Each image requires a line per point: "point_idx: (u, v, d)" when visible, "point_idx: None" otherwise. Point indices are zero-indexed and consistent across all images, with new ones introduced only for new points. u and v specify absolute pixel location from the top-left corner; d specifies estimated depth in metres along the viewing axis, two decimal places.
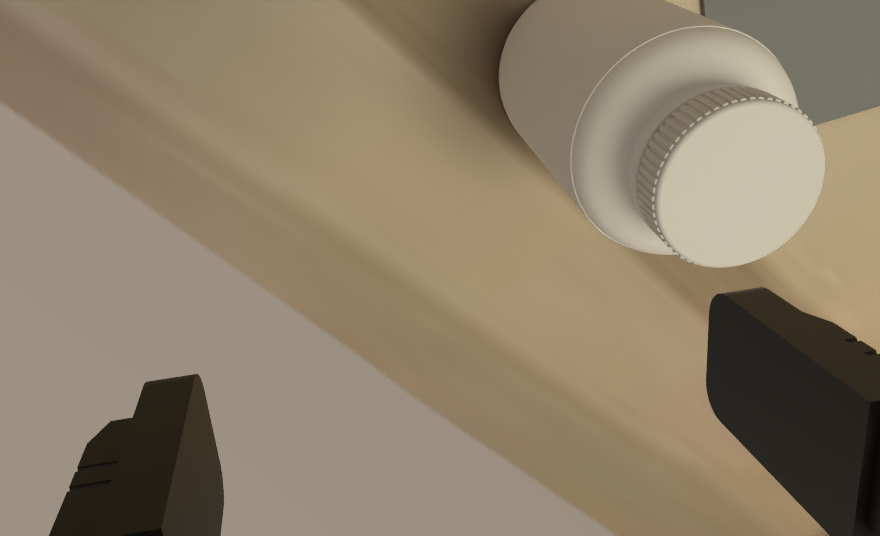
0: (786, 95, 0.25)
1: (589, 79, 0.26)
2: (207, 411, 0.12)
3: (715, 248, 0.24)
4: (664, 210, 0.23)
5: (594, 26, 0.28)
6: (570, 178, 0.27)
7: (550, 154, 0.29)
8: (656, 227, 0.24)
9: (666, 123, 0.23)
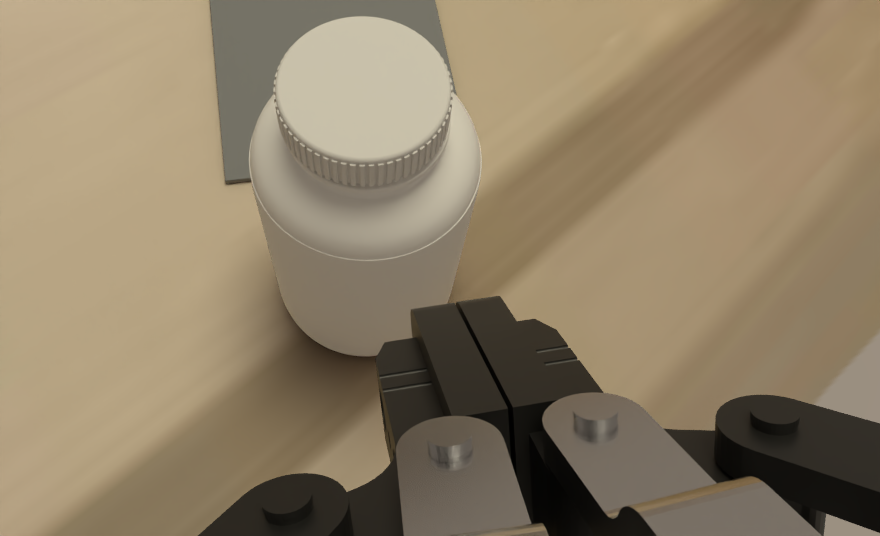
0: None
1: (289, 244, 0.26)
2: None
3: (425, 105, 0.23)
4: (374, 154, 0.23)
5: (271, 248, 0.29)
6: (384, 261, 0.26)
7: (380, 288, 0.28)
8: (396, 162, 0.23)
9: (302, 160, 0.24)
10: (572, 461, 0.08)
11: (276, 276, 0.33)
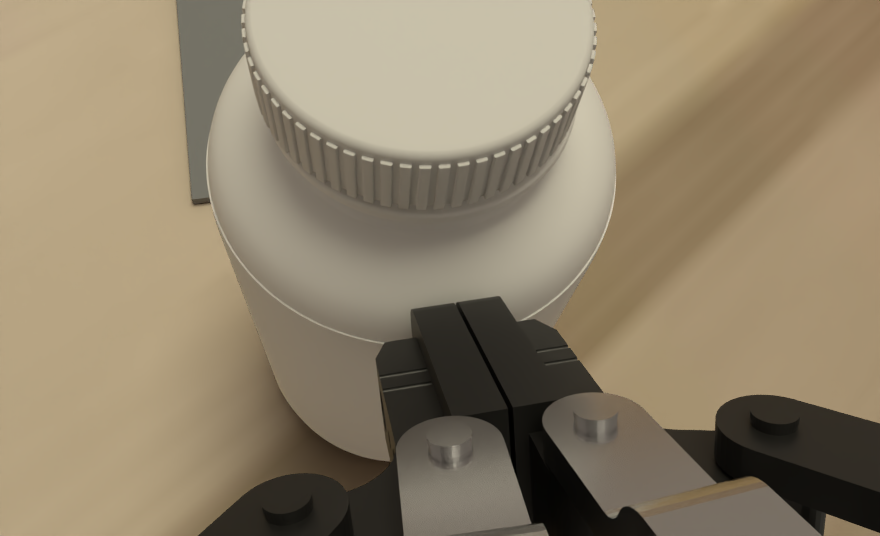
0: None
1: (280, 314, 0.15)
2: None
3: (548, 45, 0.12)
4: (450, 142, 0.11)
5: (251, 312, 0.18)
6: None
7: None
8: (495, 159, 0.11)
9: (300, 160, 0.12)
10: (572, 461, 0.08)
11: None
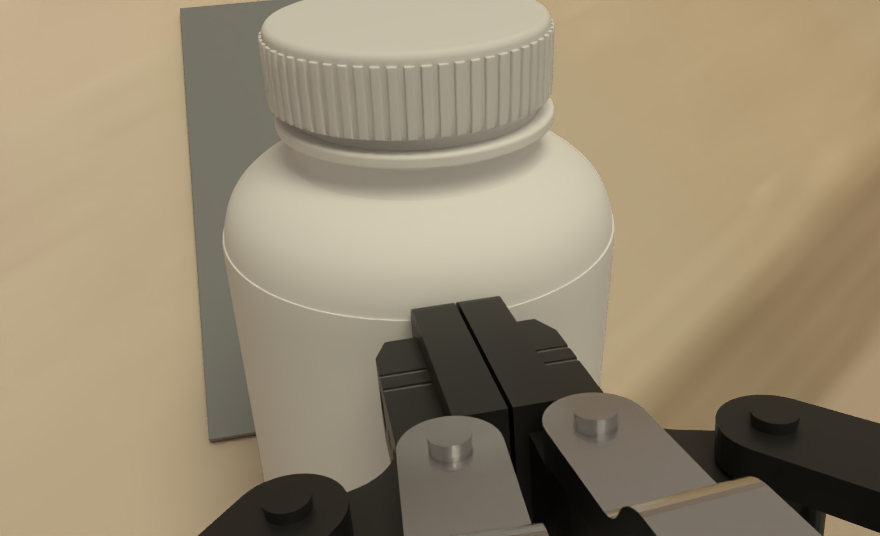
0: None
1: (284, 332, 0.14)
2: None
3: (511, 17, 0.14)
4: (430, 49, 0.12)
5: (259, 419, 0.16)
6: None
7: None
8: (472, 65, 0.12)
9: (303, 123, 0.13)
10: (572, 461, 0.08)
11: None
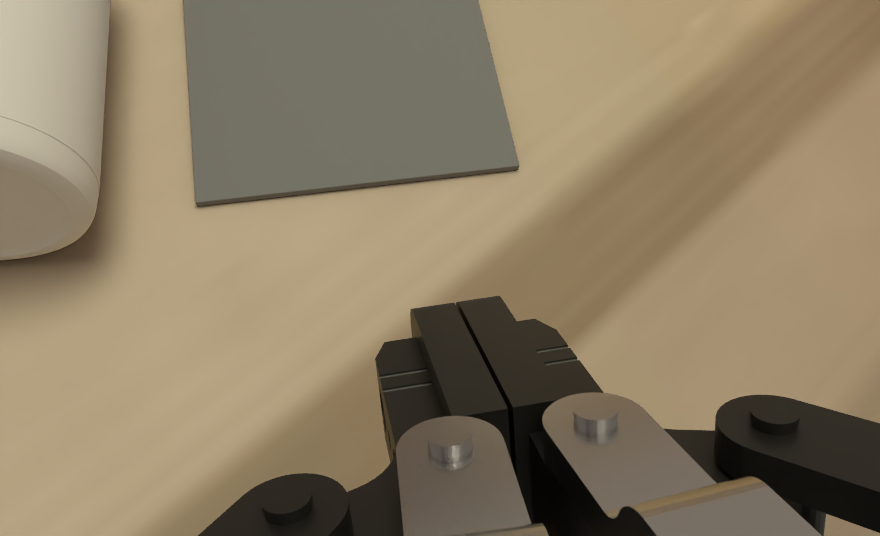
0: None
1: None
2: None
3: None
4: None
5: None
6: None
7: None
8: None
9: None
10: (572, 461, 0.08)
11: (103, 123, 0.27)
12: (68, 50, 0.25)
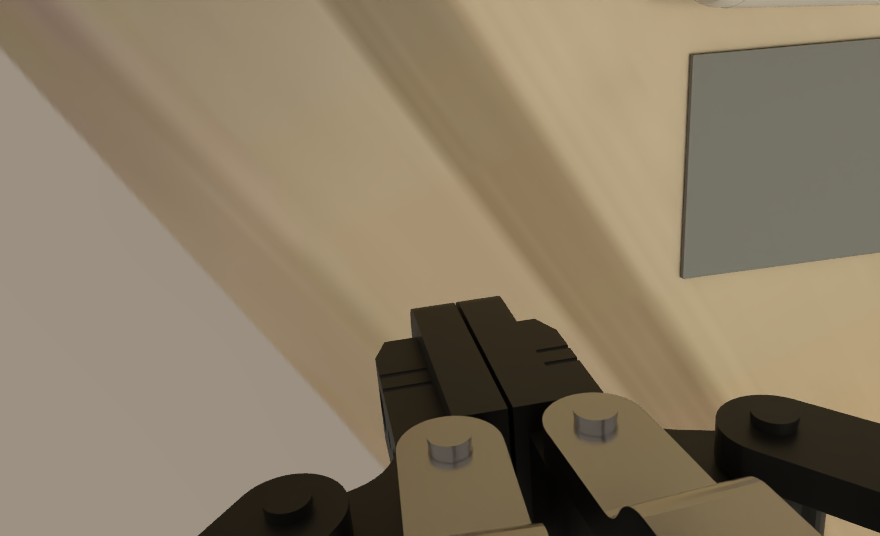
0: None
1: None
2: None
3: None
4: None
5: None
6: None
7: None
8: None
9: None
10: (572, 461, 0.08)
11: None
12: None
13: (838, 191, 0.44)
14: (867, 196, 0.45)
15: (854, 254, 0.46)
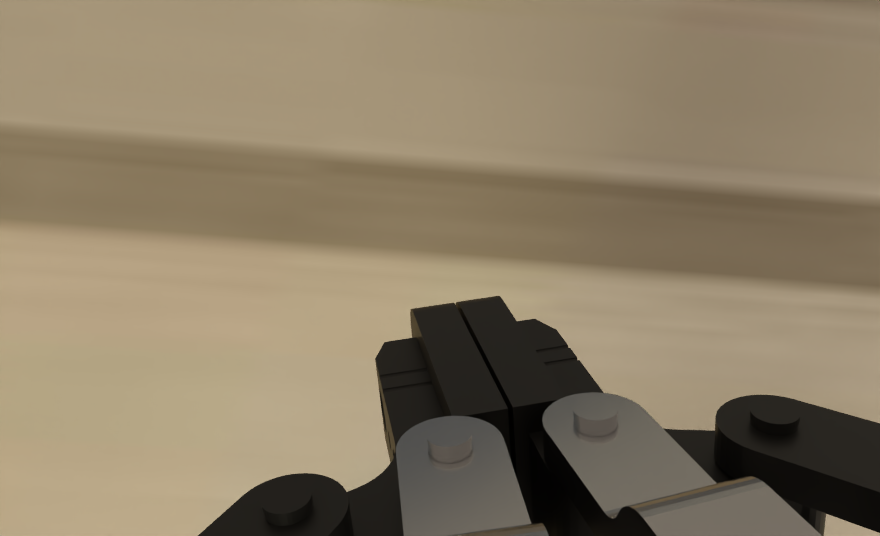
0: None
1: None
2: None
3: None
4: None
5: None
6: None
7: None
8: None
9: None
10: (572, 461, 0.08)
11: None
12: None
13: None
14: None
15: None
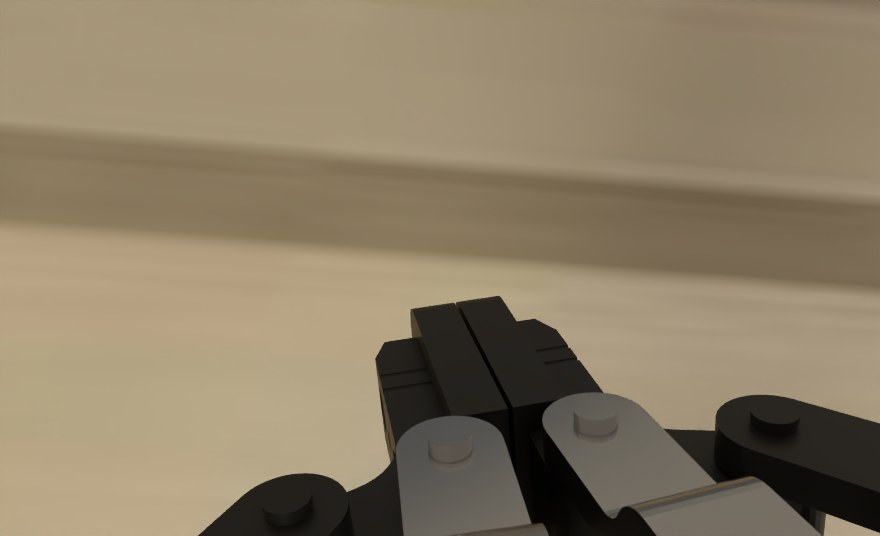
0: None
1: None
2: None
3: None
4: None
5: None
6: None
7: None
8: None
9: None
10: (572, 461, 0.08)
11: None
12: None
13: None
14: None
15: None
